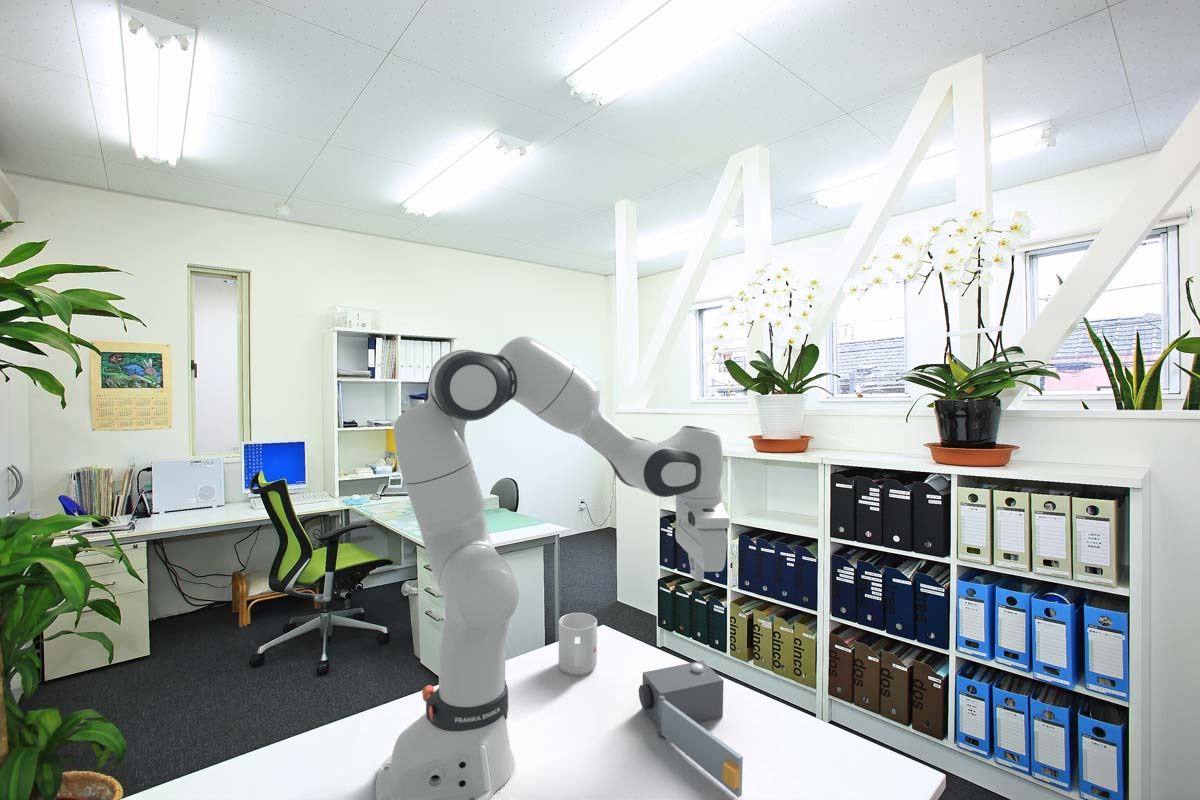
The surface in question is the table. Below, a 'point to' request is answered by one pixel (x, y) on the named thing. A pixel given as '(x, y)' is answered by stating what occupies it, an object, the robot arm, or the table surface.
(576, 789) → the table surface
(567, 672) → the mug
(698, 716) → the camera case
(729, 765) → the side door
